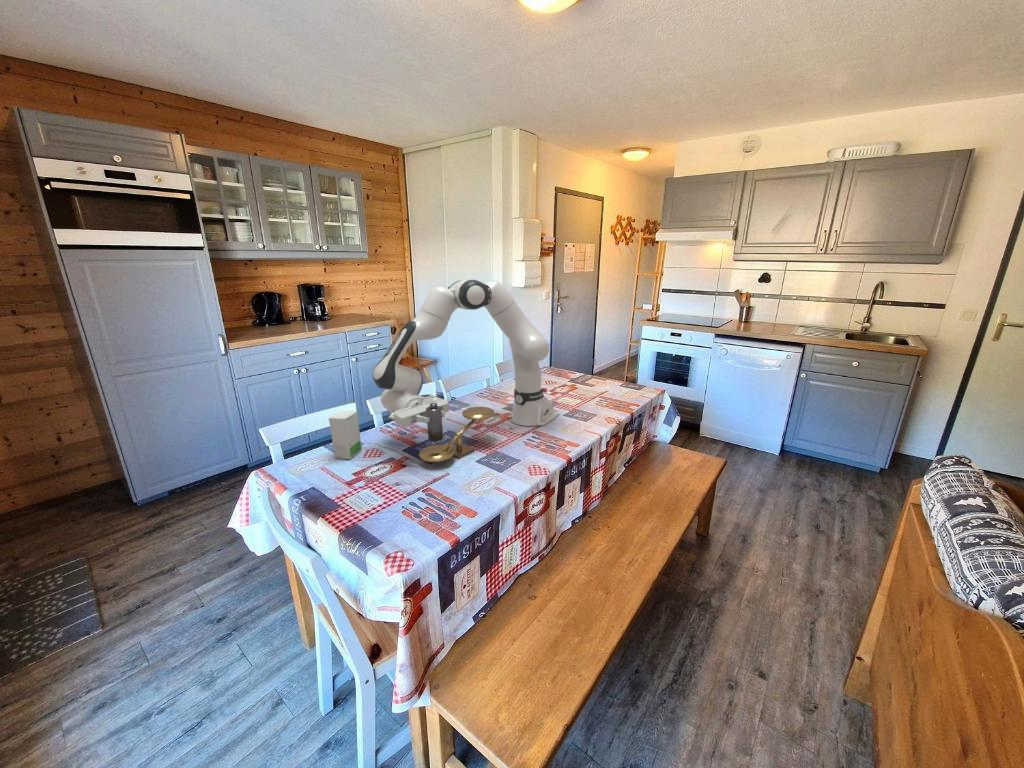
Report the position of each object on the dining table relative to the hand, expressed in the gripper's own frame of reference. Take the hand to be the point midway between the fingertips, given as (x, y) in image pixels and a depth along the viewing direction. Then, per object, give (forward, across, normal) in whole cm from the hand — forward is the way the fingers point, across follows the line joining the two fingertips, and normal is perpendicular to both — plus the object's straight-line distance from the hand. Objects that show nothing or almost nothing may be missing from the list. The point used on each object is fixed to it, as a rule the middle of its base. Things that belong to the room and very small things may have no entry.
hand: (435, 417), depth 137 cm
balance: (-1, +10, +17) cm, 19 cm away
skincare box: (-30, -18, +17) cm, 39 cm away
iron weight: (-1, 0, +8) cm, 8 cm away
